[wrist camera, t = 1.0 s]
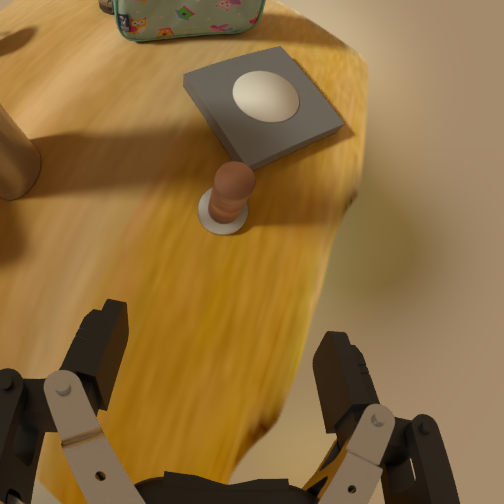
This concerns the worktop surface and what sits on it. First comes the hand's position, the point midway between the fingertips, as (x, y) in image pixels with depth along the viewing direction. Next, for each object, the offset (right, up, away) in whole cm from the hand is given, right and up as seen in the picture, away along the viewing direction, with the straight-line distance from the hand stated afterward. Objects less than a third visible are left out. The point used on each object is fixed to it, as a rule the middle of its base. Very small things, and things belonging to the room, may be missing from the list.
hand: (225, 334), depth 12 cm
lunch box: (-12, +45, +33) cm, 57 cm away
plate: (+3, +26, +32) cm, 41 cm away
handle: (-3, +9, +28) cm, 30 cm away
